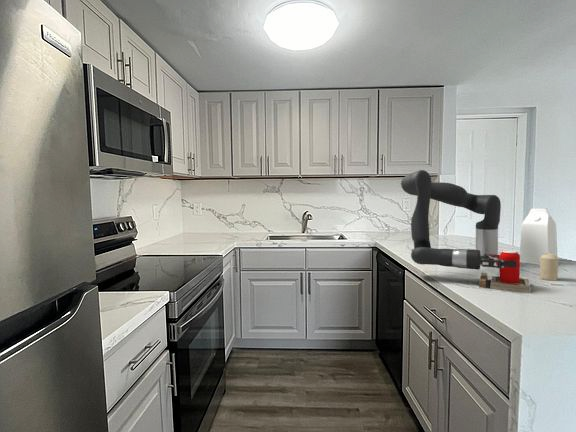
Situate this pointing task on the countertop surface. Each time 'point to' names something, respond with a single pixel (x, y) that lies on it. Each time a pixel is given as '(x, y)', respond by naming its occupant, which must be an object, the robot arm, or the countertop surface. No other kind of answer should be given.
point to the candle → (549, 267)
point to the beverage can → (510, 268)
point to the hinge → (411, 245)
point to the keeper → (510, 285)
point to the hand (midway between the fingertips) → (516, 262)
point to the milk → (537, 236)
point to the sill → (483, 280)
